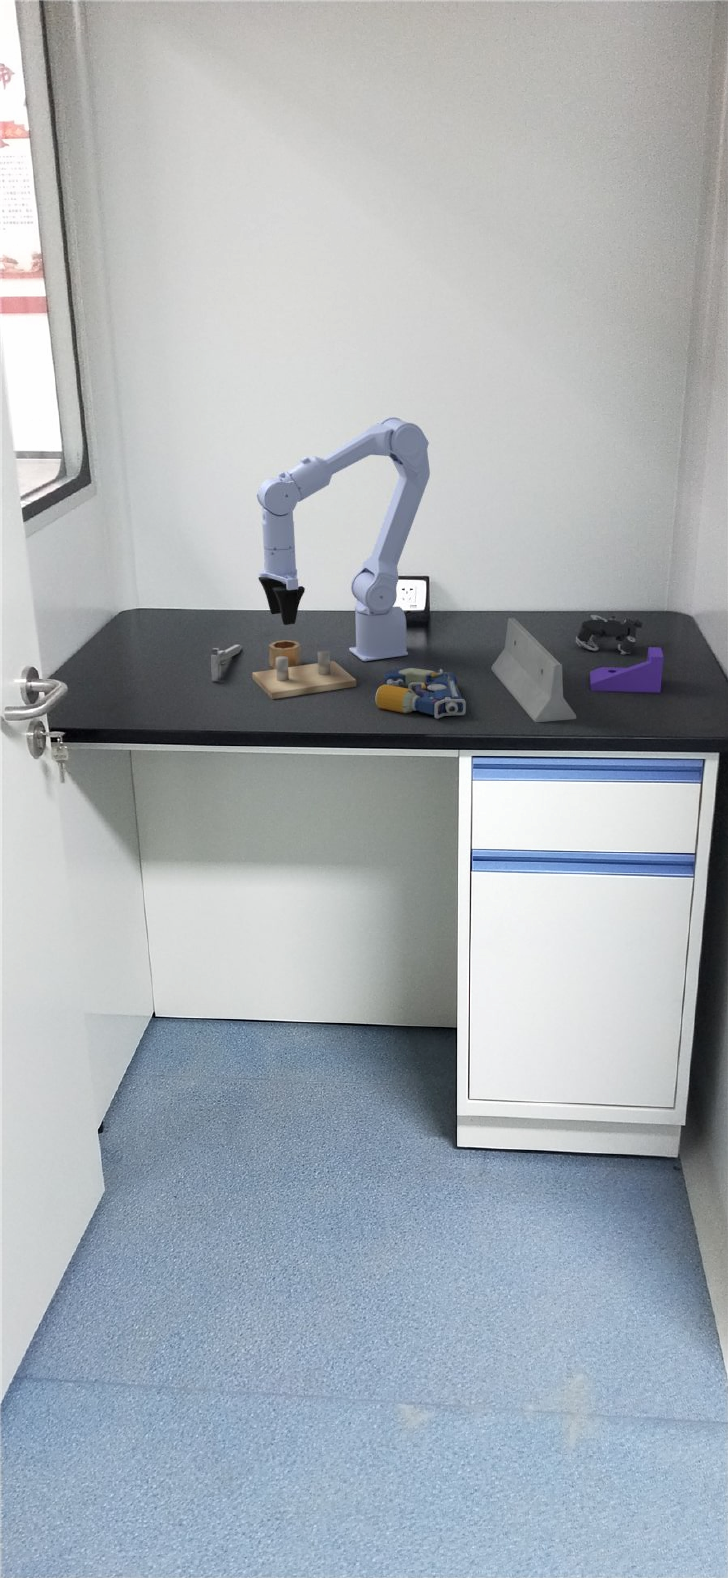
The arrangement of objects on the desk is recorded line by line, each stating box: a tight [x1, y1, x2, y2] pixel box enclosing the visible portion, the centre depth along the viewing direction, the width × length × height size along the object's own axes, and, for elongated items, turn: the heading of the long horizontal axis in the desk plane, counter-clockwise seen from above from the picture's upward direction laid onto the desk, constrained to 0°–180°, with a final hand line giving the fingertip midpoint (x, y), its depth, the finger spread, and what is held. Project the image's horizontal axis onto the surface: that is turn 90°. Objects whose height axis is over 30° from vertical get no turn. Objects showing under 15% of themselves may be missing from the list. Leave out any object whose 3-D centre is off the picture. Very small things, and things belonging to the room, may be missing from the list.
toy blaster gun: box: [374, 667, 467, 720], centre depth 205 cm, size 21×4×15 cm
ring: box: [268, 639, 302, 670], centre depth 224 cm, size 6×6×4 cm
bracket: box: [589, 646, 664, 694], centre depth 209 cm, size 12×7×7 cm, turn 82°
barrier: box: [490, 617, 577, 723], centre depth 206 cm, size 28×7×10 cm, turn 10°
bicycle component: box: [575, 614, 644, 656], centre depth 231 cm, size 12×7×15 cm
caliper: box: [210, 644, 243, 682], centre depth 225 cm, size 20×1×6 cm, turn 173°
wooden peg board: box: [251, 650, 357, 700], centre depth 214 cm, size 16×12×5 cm
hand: (282, 618), depth 221 cm, fingers open, 7 cm apart
